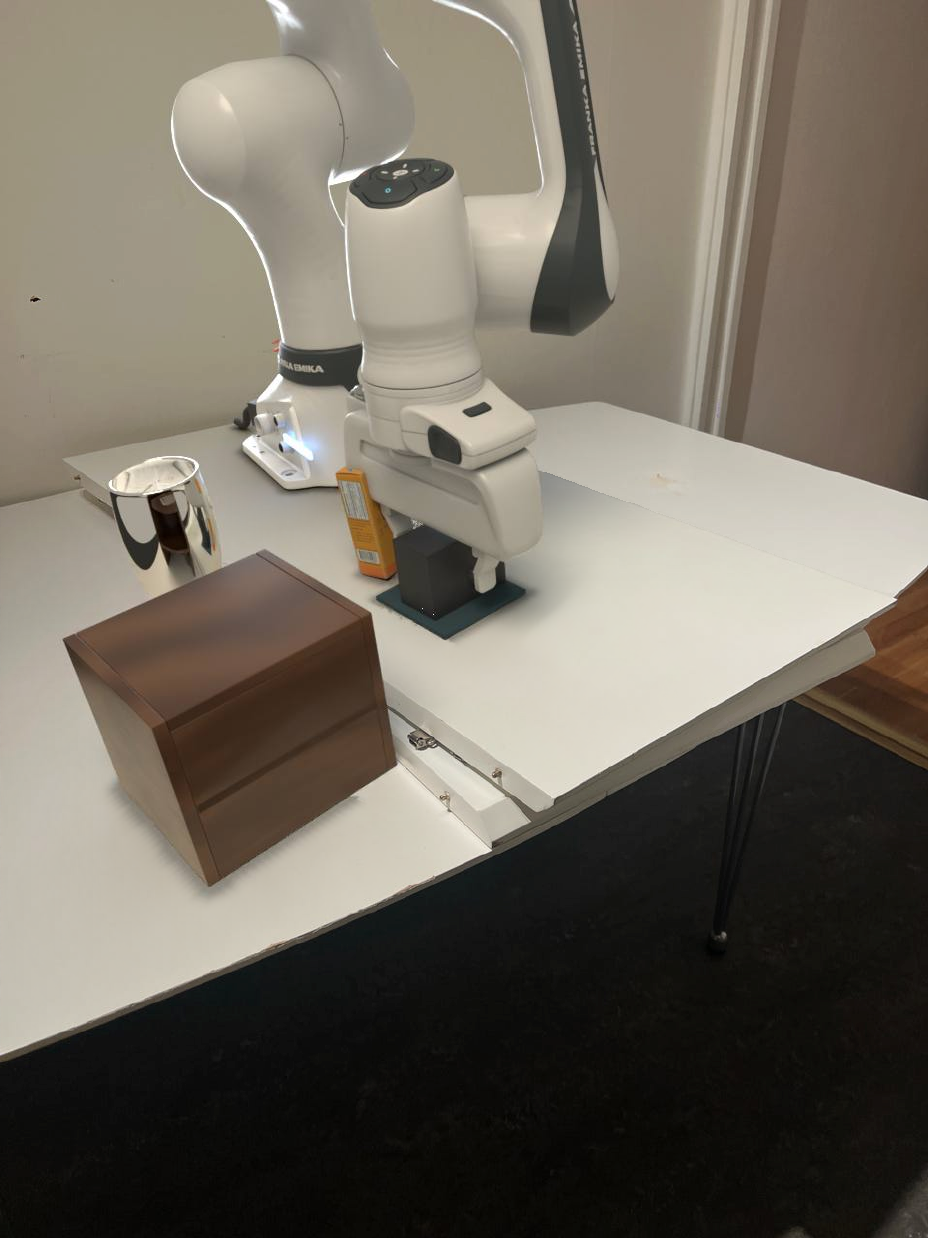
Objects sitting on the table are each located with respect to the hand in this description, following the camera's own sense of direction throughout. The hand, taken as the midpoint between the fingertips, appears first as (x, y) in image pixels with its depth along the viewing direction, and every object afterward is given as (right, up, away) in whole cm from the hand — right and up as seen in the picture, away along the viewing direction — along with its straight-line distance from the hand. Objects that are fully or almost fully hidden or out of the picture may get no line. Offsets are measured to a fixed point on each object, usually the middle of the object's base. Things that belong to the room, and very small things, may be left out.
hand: (443, 567), depth 75 cm
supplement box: (-5, 0, +6) cm, 8 cm away
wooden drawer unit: (-12, -15, -15) cm, 24 cm away
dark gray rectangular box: (+1, -2, +1) cm, 2 cm away
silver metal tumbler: (-19, -6, -1) cm, 21 cm away
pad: (+1, -2, +2) cm, 3 cm away
